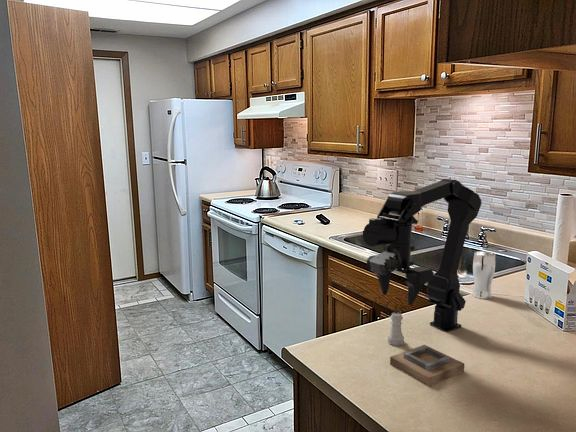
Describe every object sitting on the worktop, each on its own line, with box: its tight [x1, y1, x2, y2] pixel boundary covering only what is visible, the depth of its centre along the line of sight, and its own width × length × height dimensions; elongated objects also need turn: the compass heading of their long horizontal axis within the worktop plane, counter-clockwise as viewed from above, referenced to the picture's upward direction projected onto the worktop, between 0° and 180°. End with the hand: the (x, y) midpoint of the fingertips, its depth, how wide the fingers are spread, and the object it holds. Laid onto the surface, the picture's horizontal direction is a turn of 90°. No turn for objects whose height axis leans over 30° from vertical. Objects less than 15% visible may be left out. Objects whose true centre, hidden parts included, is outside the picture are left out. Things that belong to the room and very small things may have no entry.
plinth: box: [389, 344, 465, 387], centre depth 112 cm, size 12×12×3 cm
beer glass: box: [472, 250, 496, 300], centre depth 160 cm, size 7×7×15 cm
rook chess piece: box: [387, 312, 405, 347], centre depth 125 cm, size 4×4×8 cm
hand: (397, 299), depth 124 cm, fingers open, 9 cm apart
